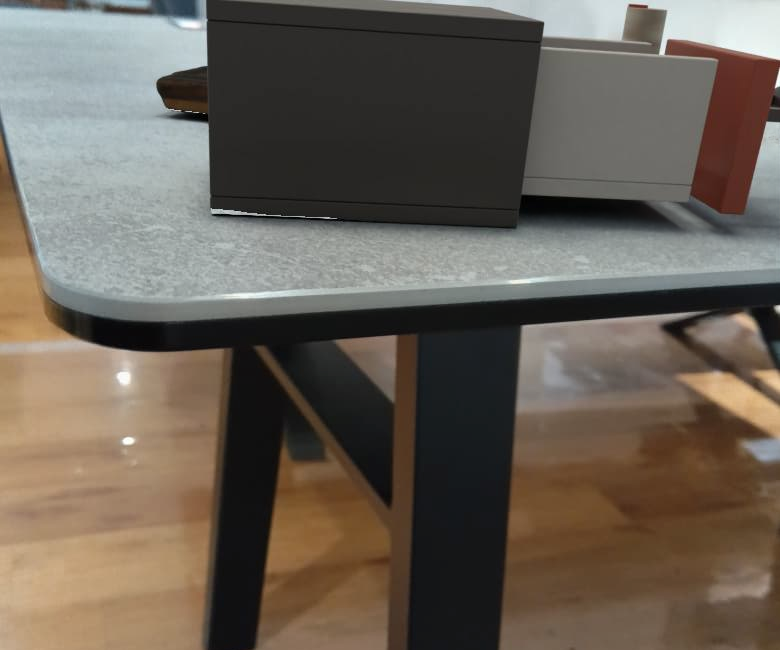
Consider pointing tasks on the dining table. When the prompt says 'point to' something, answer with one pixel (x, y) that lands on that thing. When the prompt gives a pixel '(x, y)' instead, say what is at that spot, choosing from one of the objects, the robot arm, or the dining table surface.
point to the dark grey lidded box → (370, 109)
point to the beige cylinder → (644, 25)
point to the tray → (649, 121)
